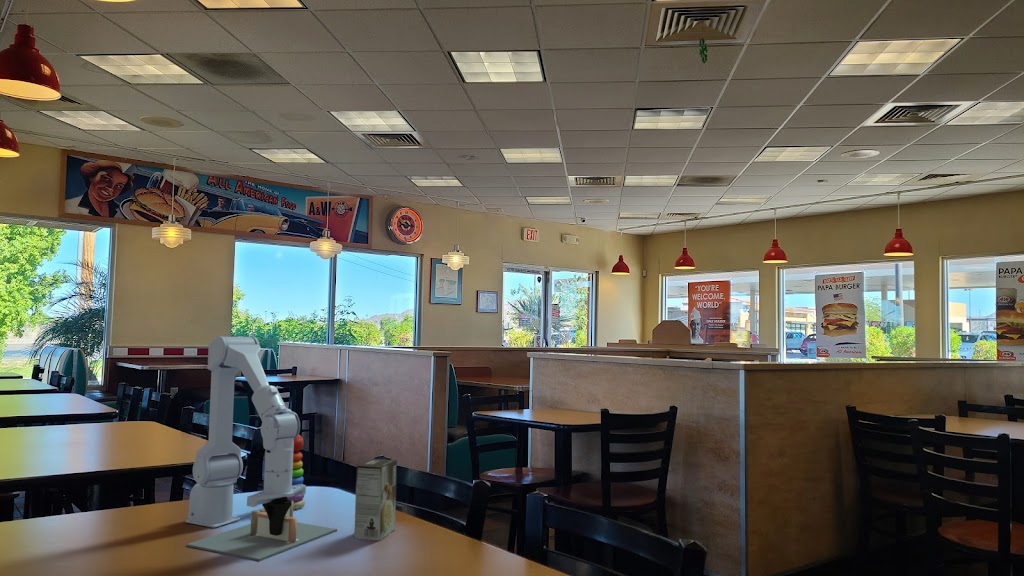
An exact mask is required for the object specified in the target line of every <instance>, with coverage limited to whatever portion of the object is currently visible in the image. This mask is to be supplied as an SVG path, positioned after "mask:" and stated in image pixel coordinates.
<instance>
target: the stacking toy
mask: <svg viewBox="0 0 1024 576" xmlns="http://www.w3.org/2000/svg"><path fill="white" fill-rule="evenodd" d="M303 447H304V439H303V437H302V436H301V434H300V433H299V434H298V436H297V437H296V438H294V447H293V469H292V485H298V484H301V485H304V484H303V483H304V481H305V480H304V477H303V475H304V469H303V468H302V467H303V465H304V464H303V461H302V459H303V457H304V456H303V454H302V452H300V451H301V450H302V449H303ZM304 498H305V494H303V495H300V494H299V495H295V496H291V497H288V498H287V499H288V500H292V501H293V511H296V510H300V509H302V508H303V507H305V504H306V502H305V500H304ZM295 509H296V510H295Z"/></svg>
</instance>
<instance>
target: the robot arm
mask: <svg viewBox="0 0 1024 576" xmlns="http://www.w3.org/2000/svg"><path fill="white" fill-rule="evenodd" d="M261 351H262V347H261V345H260V342H259V340H258V338H256V336H253V335H251V336H222V335H217V336H215V337H214V338H213V339H212V341H211V342H210V343H209V344H208V353H207V354H208V355H207V370H208V371H211V373H210V374H211V377H210V397H209V398H210V400H209V423H208V424H209V425H208V428H209V429H208V442H206V443H205V444H204V445H202V446H201V447H200V448H199V449H197V450H196V451H195V460H194V462H193V465H192V477H193V479H194V481H195V482H196V483H195V484H194V486H193V487H192V488H191V490H190V493H189V502H188V504H189V505H188V519H186V520H185V521H184V522H185V523H186V524H187V523H188V524H193V525H198V526H204V527H208V528H218V527H222V526H224V525H229V524H231V523H234V522H239V521H241V517H237V516H233V508H234V507H233V505H234V503H233V502H234V486H235V485H234V484H236V483H237V481H238V480H237V479H239V478H240V477H241V475H242V473H243V468H244V463H243V459H242V449H241V448H240V447H239V446H238V445H237V444H235V443H234V442H233V425H234V424H233V423H234V419H233V418H234V401H235V400H234V397H235V395H234V394H235V377H236V375H237V374H238V373H239V372H240V371H241V373H242V375H243V376H244V378H245V380H246V381H247V383H248V384H249V386H250V388H251V390H252V391H253V393H252V396H251V401H252V403H253V406H254V407H255V409H256V411H257V414H258V416H259V418H260V419H261V422H262V423H261V426H260V434H261V438H262V446H263V449H265V457H264V472H263V473H264V475H263V490H261V491H259V492H256V493H254V494H251V495H248V496H247V497H246V506H247V507H252V508H255V507H258V506H259V505H262V507H263V508H264V509H265V511H266V513H267V515H268V518H269V531H270V534H271V535H275V536H278V535H281V533H282V528H283V520H284V518H285V515H286V513H287V511H288V509H289V508H290V506H291V505H292V500H288V499H287V498H288V497H291V496H295V495H299V494H300V495H303V494H304V495H306V492H307V491H306V489H307V485H306V484H303V485H301V484H298V485H292V469H293V447H294V438H296V437H297V436H298V434H299V435H300V431H301V421H300V418H299V416H298V414H297V413H296V412H295V411H292V409H290V408H287V406H286V404H285V402H284V400H283V399H282V396H281V394H280V392H279V390H278V388H277V387H276V386H274V385H270V384H269V381H268V379H267V375H266V373H265V371H264V368H263V365H262V363H261V360H260V358H261V354H262V352H261Z"/></svg>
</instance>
